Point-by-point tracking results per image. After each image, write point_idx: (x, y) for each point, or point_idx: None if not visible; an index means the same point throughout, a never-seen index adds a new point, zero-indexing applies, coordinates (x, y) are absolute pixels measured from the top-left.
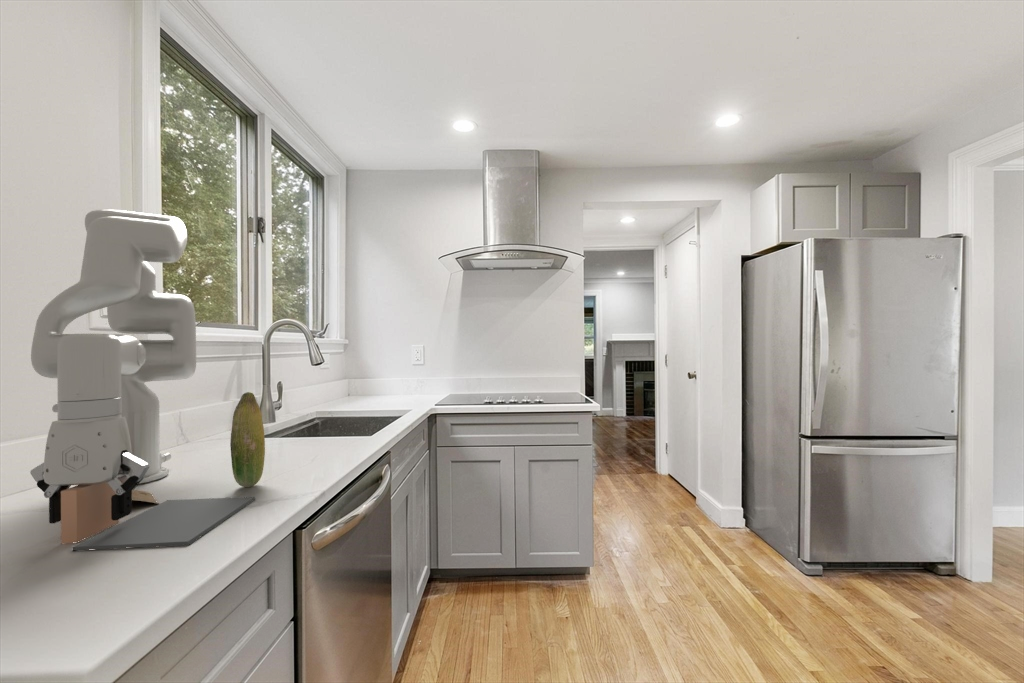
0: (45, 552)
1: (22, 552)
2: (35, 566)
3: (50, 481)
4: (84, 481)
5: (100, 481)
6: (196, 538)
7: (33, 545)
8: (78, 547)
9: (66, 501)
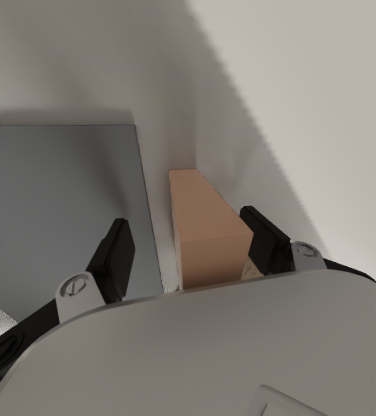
0: (192, 127)
1: (238, 133)
2: (139, 25)
3: (348, 282)
4: (176, 305)
5: (78, 319)
6: None
7: (241, 166)
8: (119, 125)
9: (211, 208)
